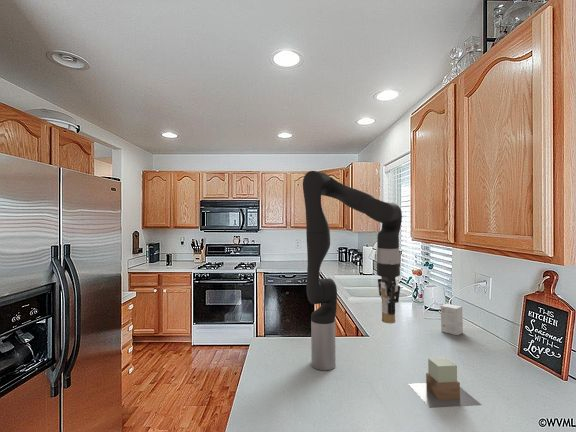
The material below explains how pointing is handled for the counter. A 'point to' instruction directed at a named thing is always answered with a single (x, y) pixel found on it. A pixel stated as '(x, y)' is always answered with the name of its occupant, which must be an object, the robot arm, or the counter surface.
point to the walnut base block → (443, 389)
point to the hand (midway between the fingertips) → (388, 312)
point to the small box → (451, 319)
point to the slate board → (433, 402)
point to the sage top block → (442, 370)
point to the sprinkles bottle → (386, 308)
